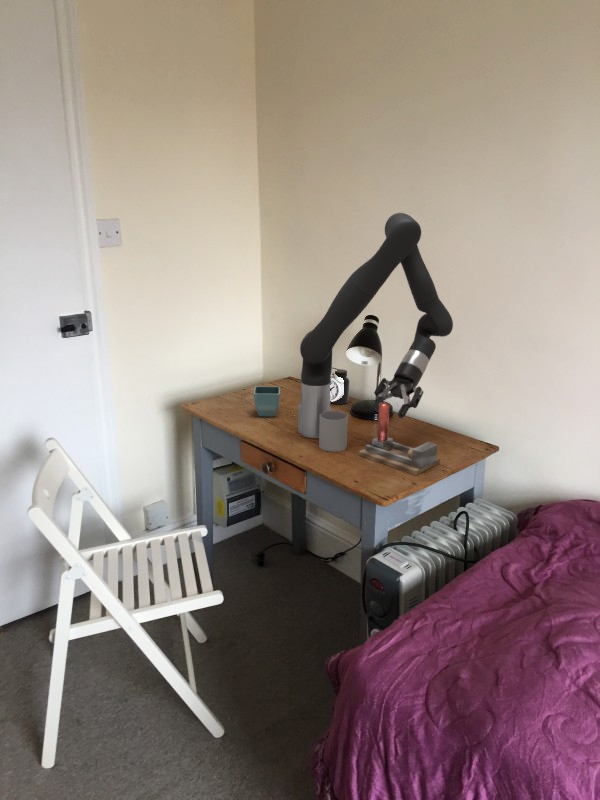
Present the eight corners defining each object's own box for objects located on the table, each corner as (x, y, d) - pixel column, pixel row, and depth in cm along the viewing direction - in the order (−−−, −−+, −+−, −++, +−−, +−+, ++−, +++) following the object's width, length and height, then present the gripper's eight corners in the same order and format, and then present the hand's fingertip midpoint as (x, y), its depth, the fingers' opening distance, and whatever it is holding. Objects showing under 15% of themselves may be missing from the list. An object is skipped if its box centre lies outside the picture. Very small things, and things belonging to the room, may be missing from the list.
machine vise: (358, 455, 192) (359, 435, 190) (383, 444, 200) (384, 425, 198) (415, 475, 179) (417, 454, 177) (439, 462, 187) (441, 442, 185)
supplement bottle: (336, 406, 234) (337, 374, 230) (326, 401, 240) (327, 369, 236) (352, 403, 238) (353, 371, 234) (341, 398, 243) (342, 367, 239)
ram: (371, 449, 192) (373, 404, 188) (381, 444, 196) (384, 400, 191) (382, 452, 190) (384, 407, 185) (392, 448, 193) (395, 403, 189)
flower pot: (279, 410, 229) (279, 386, 227) (279, 418, 221) (279, 393, 218) (255, 410, 229) (254, 386, 226) (254, 418, 221) (253, 393, 218)
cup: (330, 439, 204) (331, 409, 201) (351, 445, 199) (353, 414, 196) (313, 446, 198) (314, 415, 194) (335, 453, 193) (336, 422, 190)
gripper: (387, 357, 197) (362, 401, 193) (428, 365, 188) (402, 412, 183) (396, 370, 202) (373, 414, 198) (436, 379, 193) (412, 425, 189)
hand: (387, 413), depth 191 cm, fingers open, 8 cm apart
